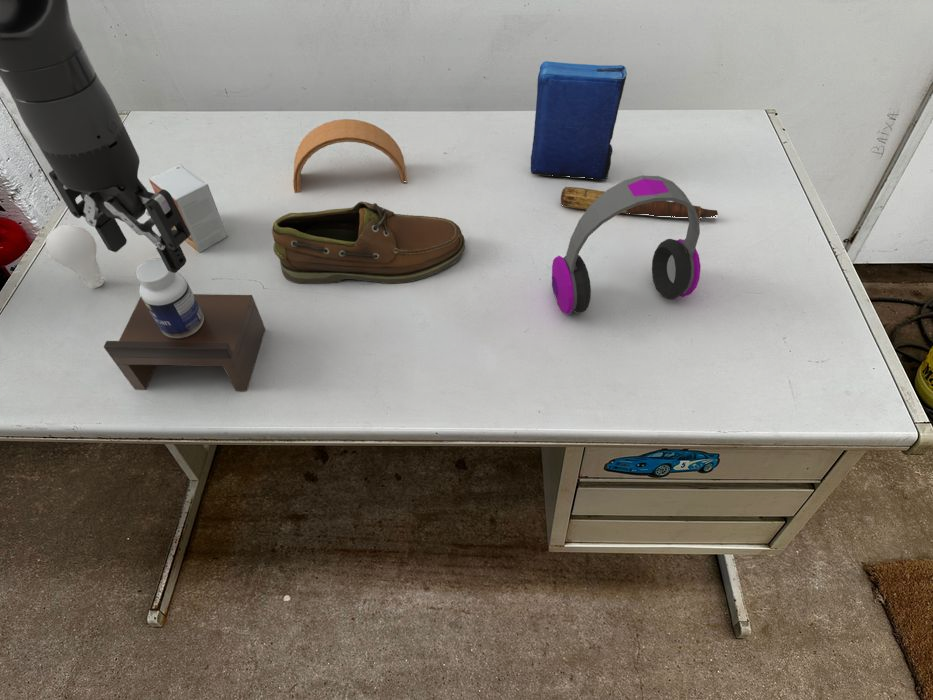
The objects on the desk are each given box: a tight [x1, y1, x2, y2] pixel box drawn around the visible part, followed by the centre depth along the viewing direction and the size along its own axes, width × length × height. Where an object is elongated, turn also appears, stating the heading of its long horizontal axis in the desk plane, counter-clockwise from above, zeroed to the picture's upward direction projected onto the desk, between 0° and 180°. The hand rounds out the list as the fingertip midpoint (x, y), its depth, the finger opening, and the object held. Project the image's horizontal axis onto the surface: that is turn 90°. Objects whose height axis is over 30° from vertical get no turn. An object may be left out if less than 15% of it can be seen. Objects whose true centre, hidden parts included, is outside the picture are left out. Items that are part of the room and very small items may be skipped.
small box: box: [148, 163, 228, 253], centre depth 96 cm, size 8×6×10 cm
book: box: [530, 60, 628, 180], centre depth 103 cm, size 14×5×20 cm, turn 82°
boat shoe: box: [271, 201, 466, 284], centre depth 92 cm, size 10×29×10 cm, turn 102°
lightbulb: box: [45, 223, 105, 289], centre depth 89 cm, size 6×6×11 cm
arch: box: [292, 118, 408, 194], centre depth 106 cm, size 6×20×10 cm, turn 98°
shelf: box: [103, 293, 266, 392], centre depth 81 cm, size 11×15×9 cm
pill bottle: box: [135, 257, 204, 338], centre depth 75 cm, size 5×5×10 cm
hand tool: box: [560, 186, 719, 219], centre depth 103 cm, size 4×26×3 cm, turn 79°
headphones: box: [551, 175, 702, 315], centre depth 84 cm, size 21×9×20 cm, turn 101°
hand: (148, 257), depth 70 cm, fingers open, 8 cm apart
